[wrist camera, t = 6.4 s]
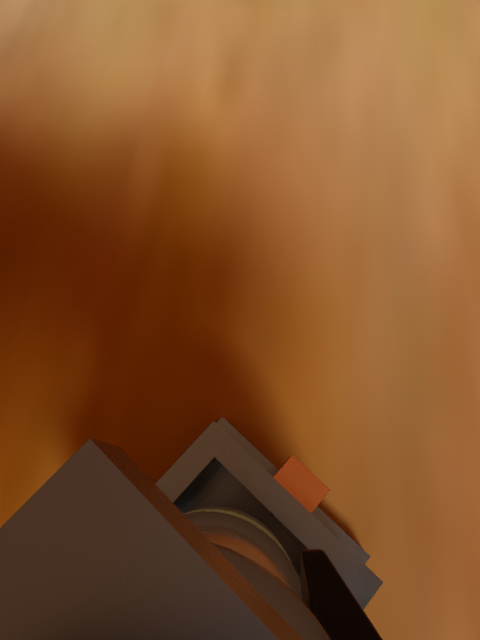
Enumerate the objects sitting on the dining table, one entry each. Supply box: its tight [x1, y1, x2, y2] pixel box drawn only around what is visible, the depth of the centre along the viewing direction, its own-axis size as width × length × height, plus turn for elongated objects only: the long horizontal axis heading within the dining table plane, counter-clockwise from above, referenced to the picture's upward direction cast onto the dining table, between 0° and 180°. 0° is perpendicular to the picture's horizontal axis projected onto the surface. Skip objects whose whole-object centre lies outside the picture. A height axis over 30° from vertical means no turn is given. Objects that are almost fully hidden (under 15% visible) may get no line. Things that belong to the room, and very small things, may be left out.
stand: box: [155, 417, 383, 609], centre depth 16 cm, size 8×8×6 cm
